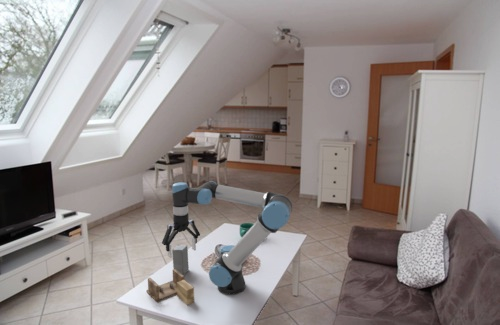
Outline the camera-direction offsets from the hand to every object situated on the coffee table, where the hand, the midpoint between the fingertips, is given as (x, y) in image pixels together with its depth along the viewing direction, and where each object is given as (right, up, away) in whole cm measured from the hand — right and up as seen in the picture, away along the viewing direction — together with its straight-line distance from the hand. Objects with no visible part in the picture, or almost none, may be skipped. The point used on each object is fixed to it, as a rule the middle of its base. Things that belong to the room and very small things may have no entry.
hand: (182, 253), depth 173 cm
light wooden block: (+2, -24, 0) cm, 24 cm away
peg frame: (-10, -22, +7) cm, 25 cm away
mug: (+32, -10, +77) cm, 84 cm away
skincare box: (-6, -19, +27) cm, 33 cm away
